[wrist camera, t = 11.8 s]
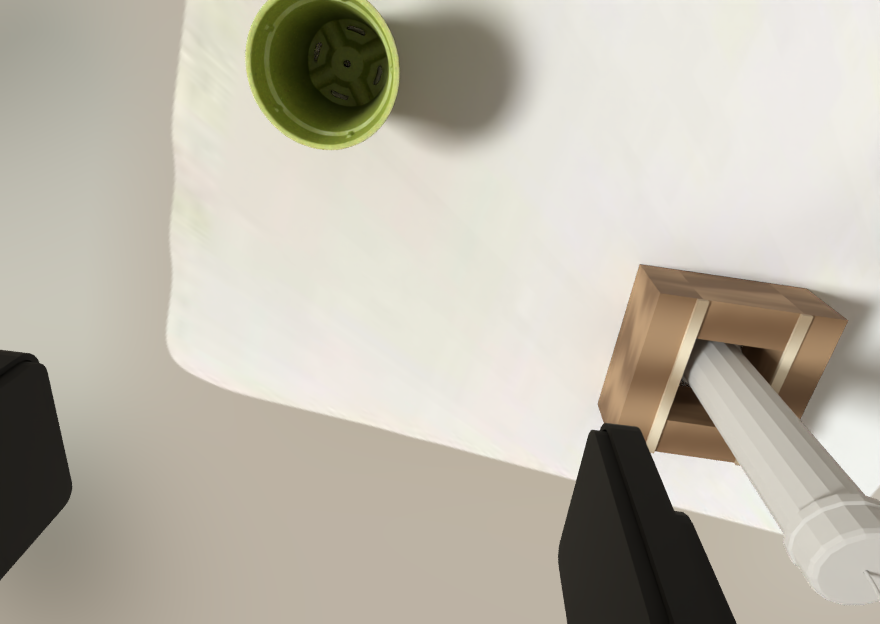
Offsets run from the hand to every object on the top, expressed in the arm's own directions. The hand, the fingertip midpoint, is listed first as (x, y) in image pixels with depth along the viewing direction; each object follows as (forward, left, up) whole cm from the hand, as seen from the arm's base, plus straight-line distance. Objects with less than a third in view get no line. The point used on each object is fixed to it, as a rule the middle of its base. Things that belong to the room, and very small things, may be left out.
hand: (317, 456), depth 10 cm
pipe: (+15, +24, -39) cm, 48 cm away
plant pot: (-4, -7, -39) cm, 39 cm away
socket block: (+15, +25, -38) cm, 48 cm away
